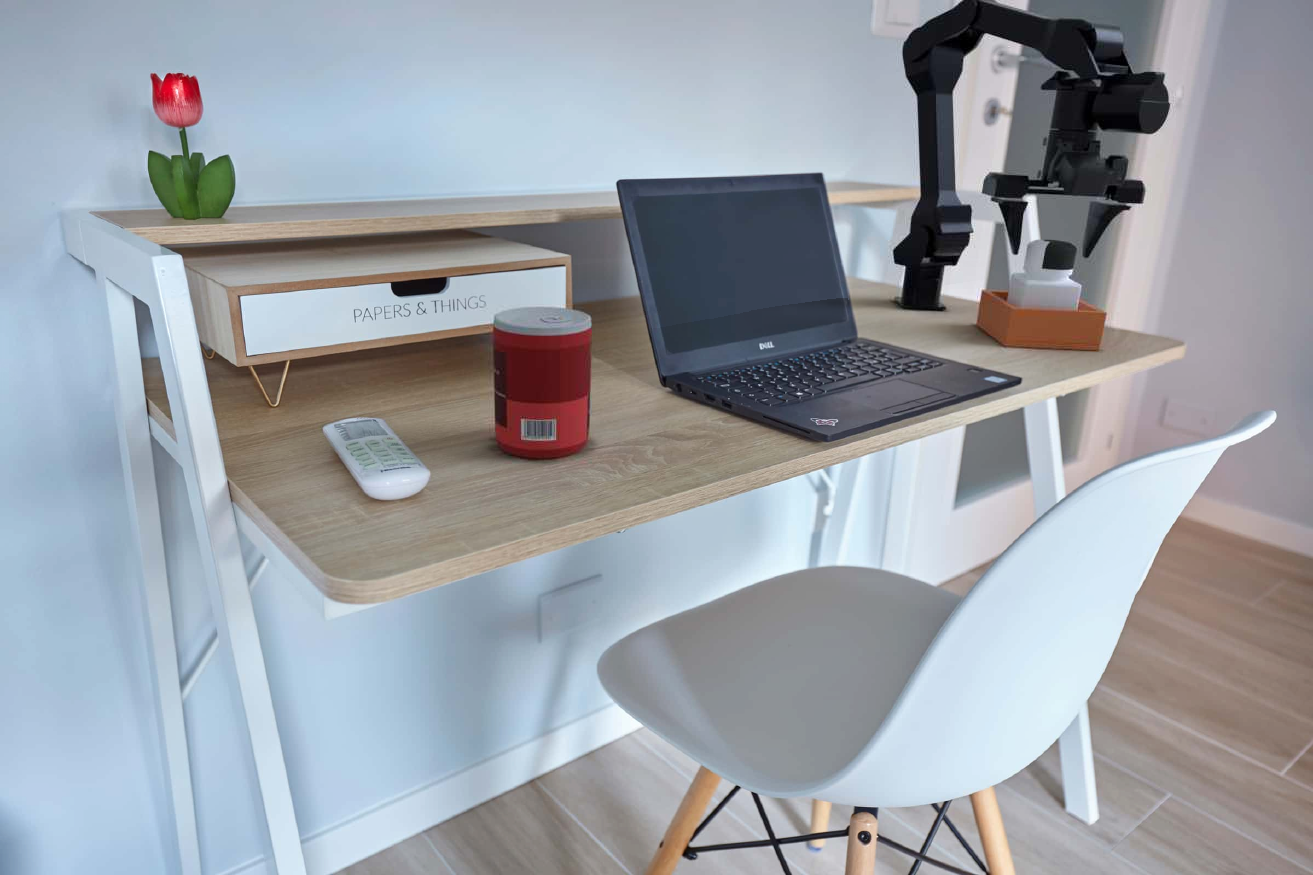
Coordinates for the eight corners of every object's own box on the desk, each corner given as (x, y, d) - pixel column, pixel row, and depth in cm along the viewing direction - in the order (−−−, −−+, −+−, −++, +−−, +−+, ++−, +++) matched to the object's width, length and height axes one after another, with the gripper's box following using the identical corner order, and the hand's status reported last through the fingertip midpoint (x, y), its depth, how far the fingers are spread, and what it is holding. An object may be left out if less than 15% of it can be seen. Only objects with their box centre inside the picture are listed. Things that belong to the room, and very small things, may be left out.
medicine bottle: (1055, 327, 128) (1072, 238, 124) (1071, 339, 121) (1090, 246, 117) (1002, 323, 128) (1017, 235, 124) (1016, 335, 122) (1032, 243, 118)
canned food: (607, 446, 79) (611, 319, 75) (532, 468, 74) (531, 332, 70) (551, 422, 84) (552, 302, 80) (477, 441, 79) (473, 313, 75)
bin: (975, 325, 131) (981, 289, 129) (1061, 329, 131) (1068, 293, 129) (1005, 346, 119) (1011, 308, 117) (1099, 350, 119) (1107, 312, 118)
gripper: (1021, 129, 108) (999, 263, 114) (1181, 136, 108) (1151, 269, 114) (990, 126, 119) (971, 249, 124) (1136, 133, 119) (1110, 255, 124)
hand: (1050, 256), depth 121 cm, fingers open, 9 cm apart
